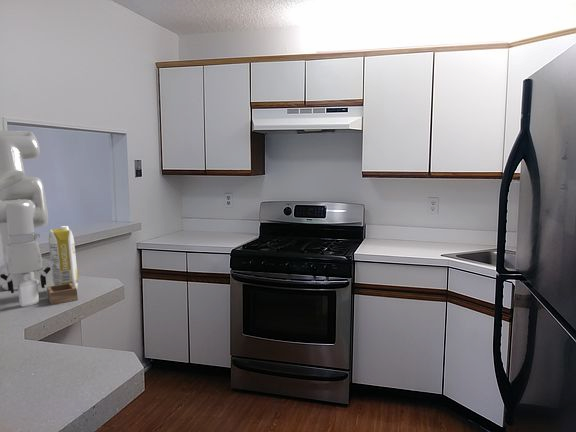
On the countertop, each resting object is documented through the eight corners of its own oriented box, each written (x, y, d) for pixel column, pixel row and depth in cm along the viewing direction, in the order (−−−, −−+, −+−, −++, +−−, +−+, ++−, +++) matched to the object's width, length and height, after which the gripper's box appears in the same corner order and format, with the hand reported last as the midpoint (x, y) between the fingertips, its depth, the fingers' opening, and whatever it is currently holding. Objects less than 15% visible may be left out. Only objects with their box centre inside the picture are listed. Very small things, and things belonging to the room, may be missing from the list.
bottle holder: (47, 298, 162) (46, 286, 161) (72, 293, 166) (71, 282, 166) (51, 304, 154) (50, 293, 153) (77, 299, 158) (76, 288, 158)
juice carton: (80, 291, 169) (73, 226, 166) (56, 295, 165) (49, 229, 162) (76, 285, 177) (70, 224, 174) (53, 289, 173) (46, 226, 170)
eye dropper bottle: (38, 305, 154) (34, 270, 153) (19, 307, 152) (14, 272, 151) (39, 301, 158) (36, 267, 157) (21, 303, 156) (17, 269, 155)
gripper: (49, 234, 160) (54, 282, 163) (-10, 241, 151) (-3, 292, 153) (52, 236, 154) (58, 287, 156) (-9, 244, 145) (-2, 297, 147)
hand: (27, 289), depth 155 cm, fingers open, 8 cm apart
